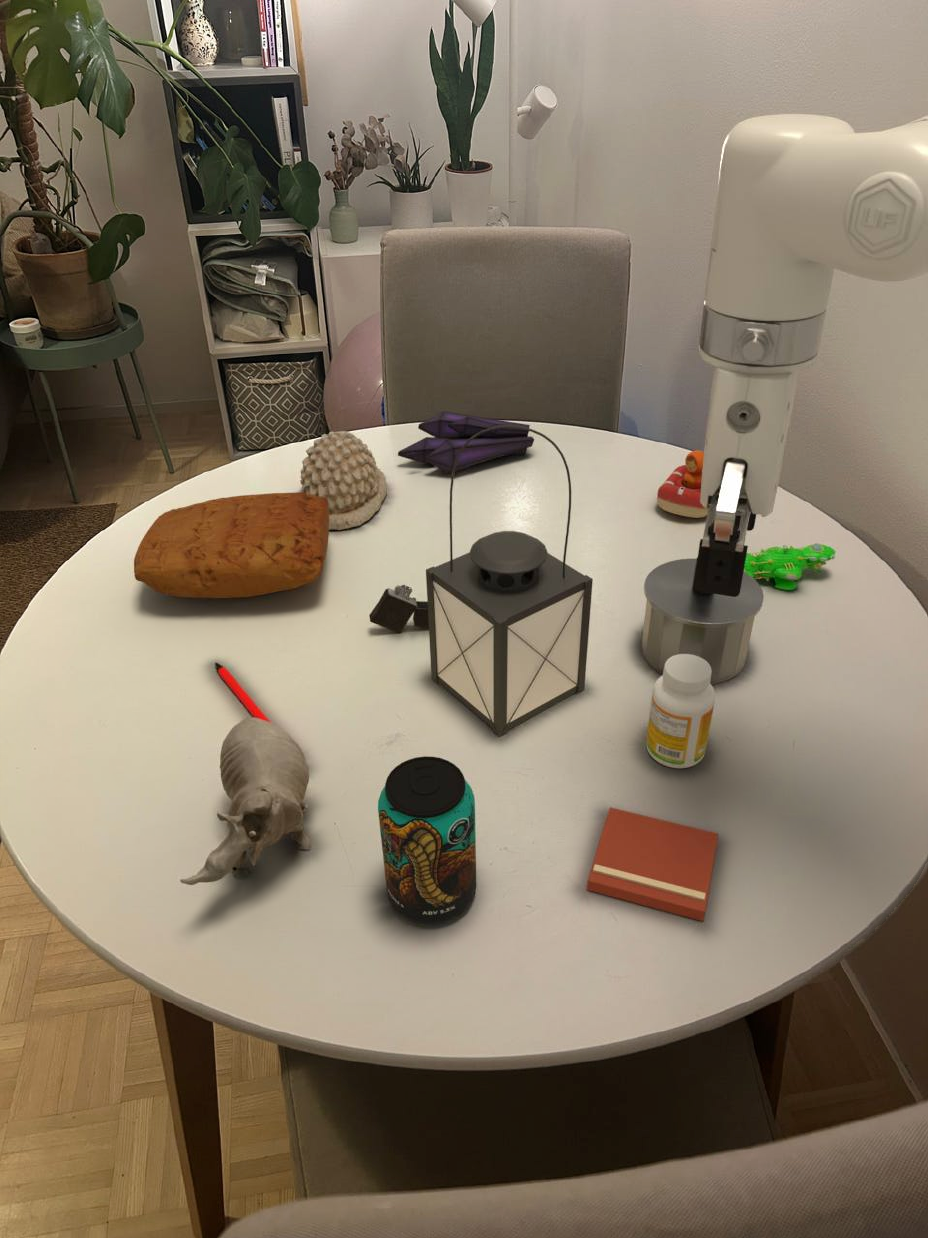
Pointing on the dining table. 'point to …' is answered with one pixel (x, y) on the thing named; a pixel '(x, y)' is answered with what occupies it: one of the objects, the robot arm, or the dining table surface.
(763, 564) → the green elongated plastic piece
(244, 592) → the cuneiform tablet
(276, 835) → the grey rounded figure
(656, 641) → the pot
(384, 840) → the beverage can
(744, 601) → the pot lid
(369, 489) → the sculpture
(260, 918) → the dining table surface
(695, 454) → the toy boat
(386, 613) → the lighter
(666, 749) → the supplement bottle
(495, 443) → the crystal
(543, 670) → the lantern
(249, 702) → the pen
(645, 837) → the book
